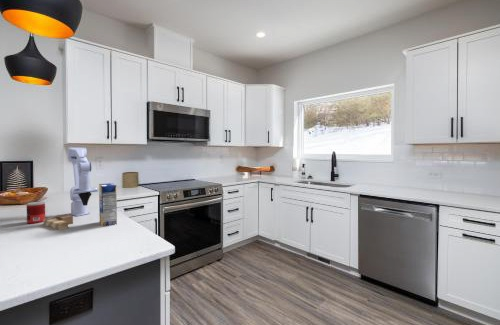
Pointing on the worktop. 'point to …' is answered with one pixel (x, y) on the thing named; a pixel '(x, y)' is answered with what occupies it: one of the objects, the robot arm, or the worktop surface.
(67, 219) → the walnut block
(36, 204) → the canned food
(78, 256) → the worktop surface
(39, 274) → the worktop surface
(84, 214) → the robot arm
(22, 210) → the worktop surface
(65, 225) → the tan faceted bar
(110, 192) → the beverage box
